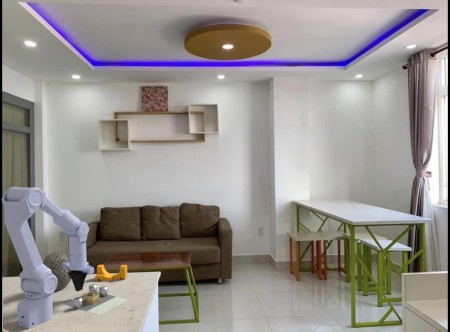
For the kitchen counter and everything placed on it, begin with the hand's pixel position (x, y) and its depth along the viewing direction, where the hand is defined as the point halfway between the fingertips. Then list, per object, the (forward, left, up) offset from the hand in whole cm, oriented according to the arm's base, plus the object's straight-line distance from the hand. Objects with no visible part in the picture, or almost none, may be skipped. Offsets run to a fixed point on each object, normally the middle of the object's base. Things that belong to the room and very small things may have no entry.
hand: (79, 290), depth 125 cm
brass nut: (0, -7, -3) cm, 7 cm away
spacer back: (+5, -2, -3) cm, 6 cm away
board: (0, -9, -4) cm, 9 cm away
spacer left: (-6, -7, -3) cm, 9 cm away
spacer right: (+5, -7, -3) cm, 9 cm away
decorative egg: (+2, +16, -4) cm, 17 cm away
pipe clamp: (+19, +4, -4) cm, 20 cm away
